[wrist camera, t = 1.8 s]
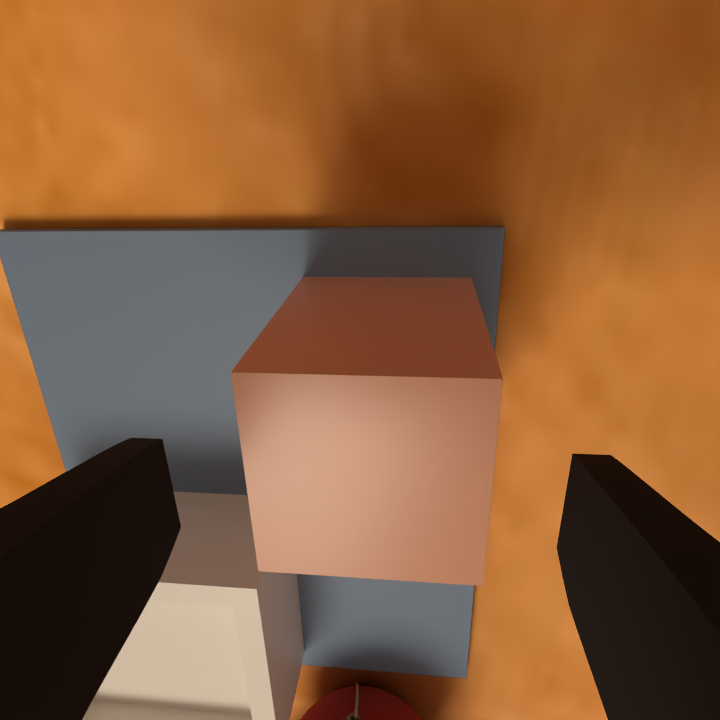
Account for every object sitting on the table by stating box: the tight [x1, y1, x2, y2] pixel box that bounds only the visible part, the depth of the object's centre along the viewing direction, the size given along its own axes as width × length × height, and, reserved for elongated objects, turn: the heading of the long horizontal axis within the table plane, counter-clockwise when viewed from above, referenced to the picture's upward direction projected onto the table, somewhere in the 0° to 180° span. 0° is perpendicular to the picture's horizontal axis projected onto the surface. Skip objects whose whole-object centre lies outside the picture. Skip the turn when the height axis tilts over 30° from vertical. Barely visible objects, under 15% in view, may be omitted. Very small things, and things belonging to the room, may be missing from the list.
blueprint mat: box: [0, 226, 505, 679], centre depth 18 cm, size 14×17×1 cm
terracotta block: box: [231, 277, 503, 586], centre depth 12 cm, size 4×4×6 cm
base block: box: [82, 491, 304, 720], centre depth 18 cm, size 8×8×4 cm
